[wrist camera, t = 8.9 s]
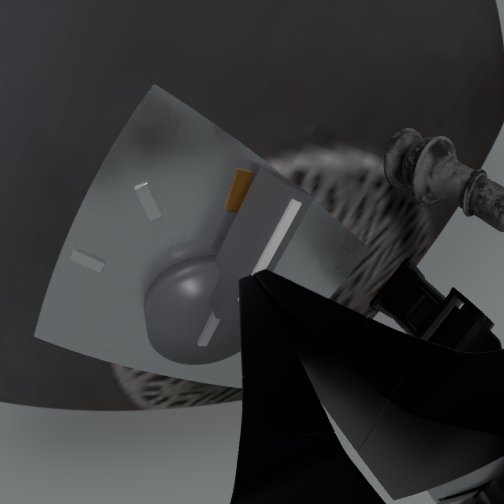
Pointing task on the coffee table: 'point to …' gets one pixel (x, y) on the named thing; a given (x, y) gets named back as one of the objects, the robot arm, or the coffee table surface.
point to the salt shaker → (442, 176)
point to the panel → (168, 236)
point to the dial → (223, 276)
